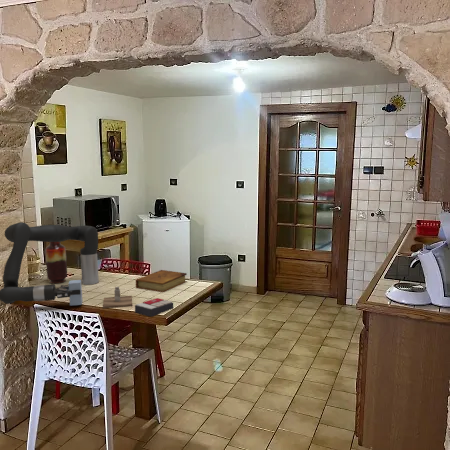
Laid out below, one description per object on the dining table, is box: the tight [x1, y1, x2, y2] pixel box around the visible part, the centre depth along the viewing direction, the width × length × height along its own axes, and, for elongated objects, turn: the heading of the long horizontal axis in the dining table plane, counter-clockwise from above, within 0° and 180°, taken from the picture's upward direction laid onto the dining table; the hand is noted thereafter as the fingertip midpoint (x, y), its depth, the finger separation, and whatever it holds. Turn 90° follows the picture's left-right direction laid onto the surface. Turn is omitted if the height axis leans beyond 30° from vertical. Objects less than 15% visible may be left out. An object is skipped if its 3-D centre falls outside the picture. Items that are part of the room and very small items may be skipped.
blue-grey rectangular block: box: [68, 279, 84, 306], centre depth 226 cm, size 5×5×11 cm
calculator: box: [134, 297, 174, 318], centre depth 220 cm, size 11×4×15 cm
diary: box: [135, 269, 188, 293], centre depth 262 cm, size 23×19×6 cm
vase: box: [44, 242, 68, 285], centre depth 269 cm, size 11×11×26 cm
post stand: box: [102, 286, 133, 309], centre depth 231 cm, size 14×14×8 cm
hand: (80, 290), depth 226 cm, fingers closed on blue-grey rectangular block, 5 cm apart
